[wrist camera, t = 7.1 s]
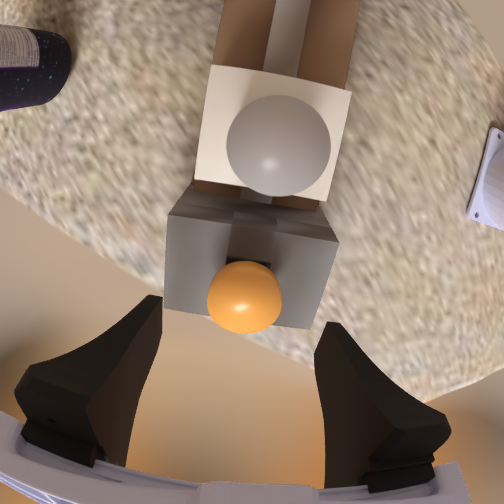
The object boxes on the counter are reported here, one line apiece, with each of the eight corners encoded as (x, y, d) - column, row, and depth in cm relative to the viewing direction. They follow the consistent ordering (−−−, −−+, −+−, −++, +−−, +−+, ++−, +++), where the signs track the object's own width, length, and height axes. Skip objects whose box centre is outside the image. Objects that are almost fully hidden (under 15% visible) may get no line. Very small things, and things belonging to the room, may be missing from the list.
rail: (368, -48, 13) (402, -85, 7) (299, 278, 24) (310, 333, 19) (240, -75, 12) (234, -123, 7) (182, 260, 24) (162, 312, 18)
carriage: (337, 93, 16) (391, 90, 9) (316, 186, 19) (351, 241, 12) (218, 70, 16) (191, 48, 9) (203, 167, 19) (169, 211, 12)
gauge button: (284, 250, 17) (289, 280, 15) (271, 303, 19) (273, 337, 16) (217, 239, 17) (210, 267, 14) (210, 294, 19) (203, 327, 16)
